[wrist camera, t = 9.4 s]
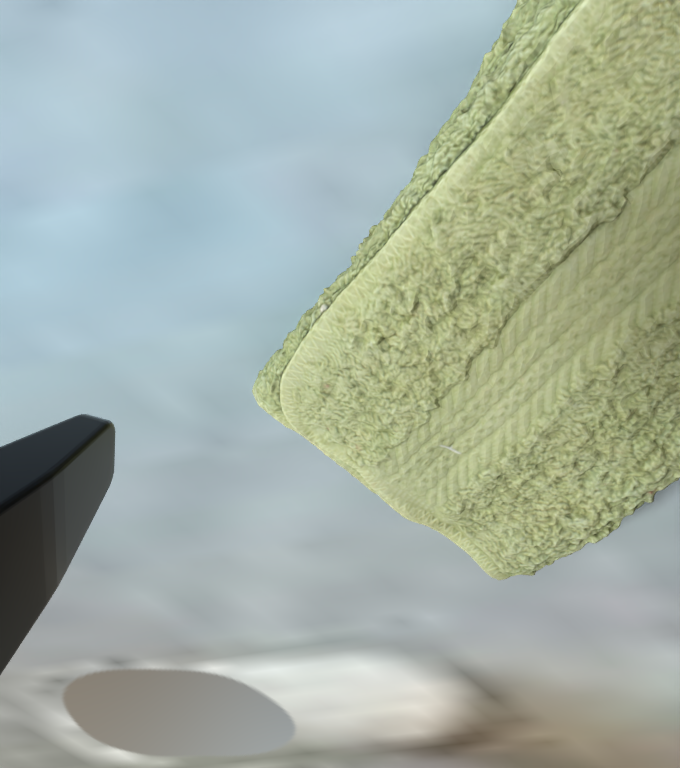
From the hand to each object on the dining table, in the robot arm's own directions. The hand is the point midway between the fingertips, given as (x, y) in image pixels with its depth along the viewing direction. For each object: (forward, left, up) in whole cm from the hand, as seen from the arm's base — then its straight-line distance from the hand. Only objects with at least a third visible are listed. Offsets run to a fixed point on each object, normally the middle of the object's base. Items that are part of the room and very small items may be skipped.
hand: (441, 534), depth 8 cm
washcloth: (-4, +1, -13) cm, 13 cm away
